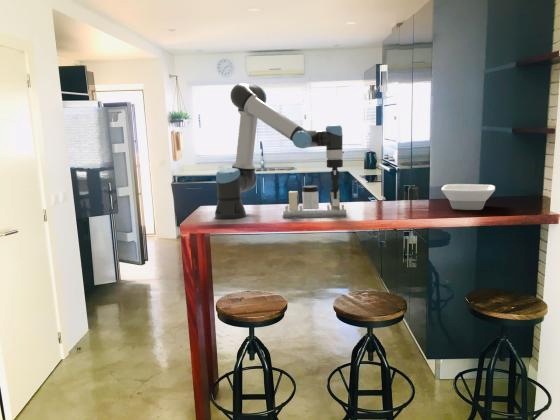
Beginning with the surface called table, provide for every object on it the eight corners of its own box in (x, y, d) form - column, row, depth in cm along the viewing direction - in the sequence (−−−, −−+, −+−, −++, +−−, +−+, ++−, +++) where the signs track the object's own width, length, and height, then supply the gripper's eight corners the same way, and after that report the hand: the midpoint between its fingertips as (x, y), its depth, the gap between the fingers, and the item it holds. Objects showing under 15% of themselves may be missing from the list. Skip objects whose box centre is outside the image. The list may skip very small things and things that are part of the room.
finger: (330, 210, 218) (329, 191, 216) (330, 208, 222) (330, 190, 220) (339, 210, 217) (339, 191, 216) (339, 208, 221) (339, 190, 220)
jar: (308, 211, 236) (307, 187, 234) (299, 209, 243) (298, 186, 241) (322, 208, 241) (321, 186, 239) (312, 207, 247) (312, 185, 245)
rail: (282, 218, 219) (281, 193, 217) (284, 214, 227) (283, 190, 225) (346, 217, 215) (346, 191, 213) (346, 213, 224) (345, 189, 222)
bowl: (494, 204, 234) (495, 184, 233) (494, 212, 212) (495, 190, 210) (444, 203, 245) (444, 183, 243) (439, 210, 222) (439, 189, 220)
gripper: (343, 160, 203) (343, 207, 206) (342, 157, 227) (342, 199, 231) (326, 160, 204) (327, 208, 207) (327, 157, 228) (327, 199, 232)
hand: (335, 203), depth 219 cm, fingers open, 13 cm apart
